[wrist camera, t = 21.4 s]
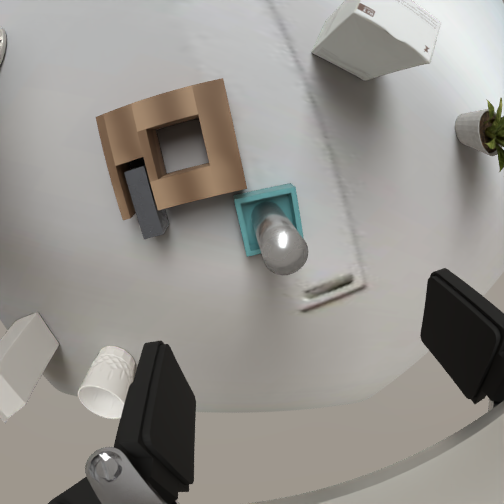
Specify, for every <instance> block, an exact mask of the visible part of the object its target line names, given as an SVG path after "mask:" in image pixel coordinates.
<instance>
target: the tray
mask: <svg viewBox="0 0 504 504" xmlns="http://www.w3.org/2000/svg"><path fill="white" fill-rule="evenodd" d="M233 197H234V202H235V207H236V211H237V215H238V220H239V224H240V228H241V233H242V237H243V241H244V246H245V250H246V255H247V257H248V256H252V255H257V254H261V251H260V247H259V244H258V241H257V237H256V234H255V231H254V228H253V224H252V221H251V214H252V211H253V209H254V208H255V207H256V206H257V205H258V204H260V203H262V202H273V203H275V204H277V205H278V206H279V207H280V208H281V209H282V211H283V212H284V213H285V215H286V216H287V217H288V219H289V220H290V221H291V223H292V224H293V225H294V227H295V228H296V230H297V231H298V232H299V234H300V235H301V236H302V238H303V232H302V225H301V219H300V212H299V206H298V200H297V194H296V188H295V186H294V185H292V184H291V183H290V184H284V185H280V186H275V187H270V188H265V189H260V190H256V191H251V192H247V193H242V194H238V195H233ZM303 239H304V238H303Z"/></svg>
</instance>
